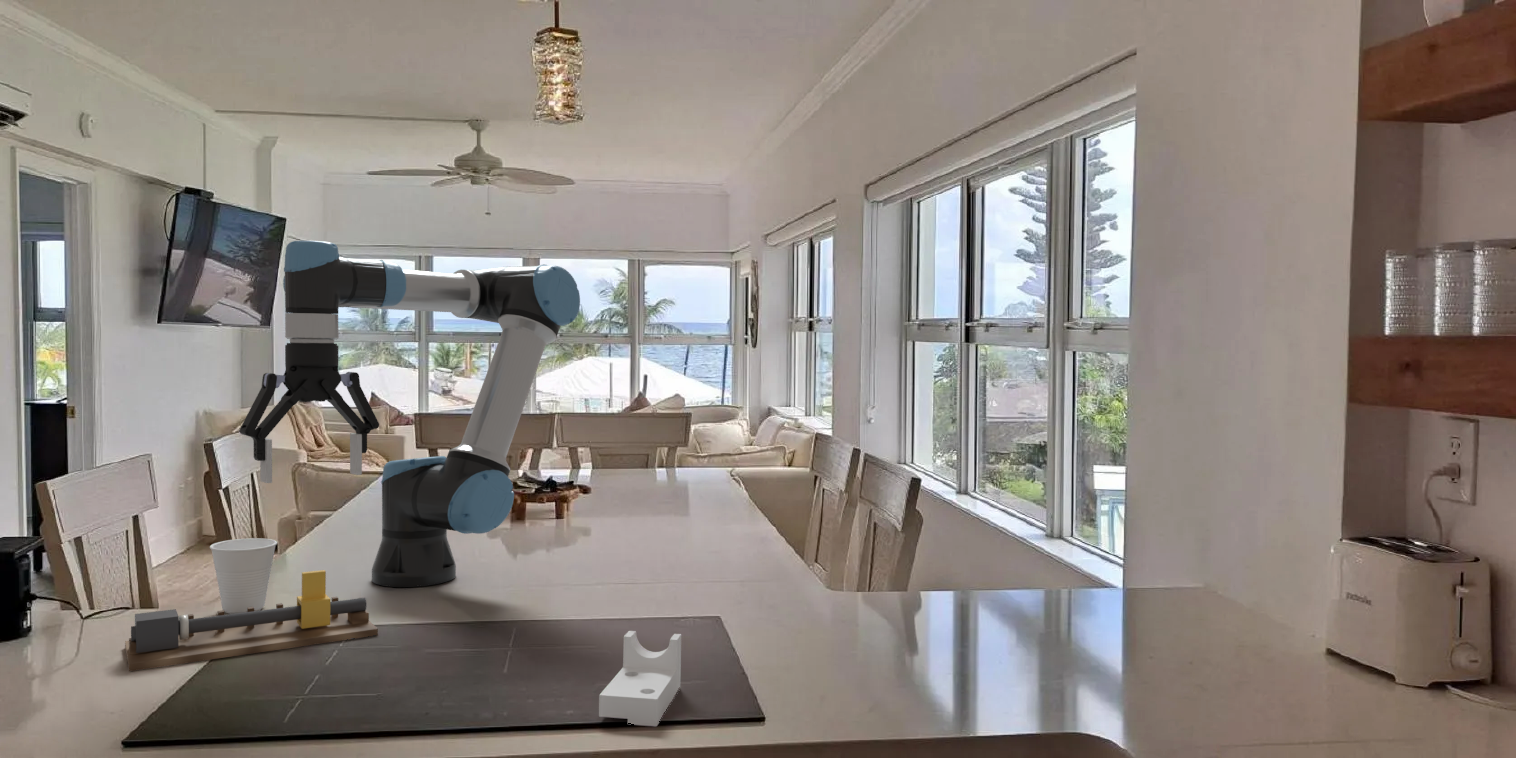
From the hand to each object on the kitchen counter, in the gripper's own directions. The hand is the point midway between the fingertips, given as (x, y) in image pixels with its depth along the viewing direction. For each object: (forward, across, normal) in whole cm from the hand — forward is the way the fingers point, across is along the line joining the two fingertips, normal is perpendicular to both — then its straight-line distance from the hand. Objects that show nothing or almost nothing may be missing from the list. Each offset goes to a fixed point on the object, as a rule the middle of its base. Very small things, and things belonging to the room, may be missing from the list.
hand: (312, 478), depth 151 cm
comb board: (+23, +9, +2) cm, 25 cm away
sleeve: (+22, +1, +3) cm, 22 cm away
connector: (+22, +21, 0) cm, 30 cm away
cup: (+24, +4, -18) cm, 30 cm away
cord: (+21, +9, +2) cm, 23 cm away
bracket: (+24, -17, +60) cm, 67 cm away
